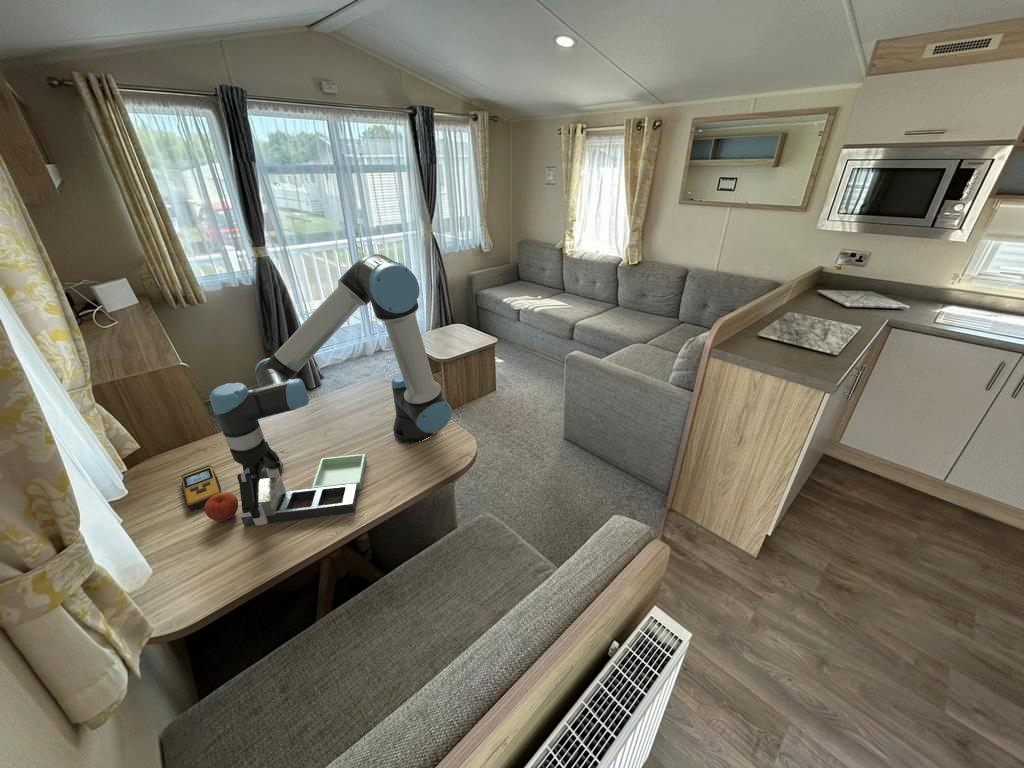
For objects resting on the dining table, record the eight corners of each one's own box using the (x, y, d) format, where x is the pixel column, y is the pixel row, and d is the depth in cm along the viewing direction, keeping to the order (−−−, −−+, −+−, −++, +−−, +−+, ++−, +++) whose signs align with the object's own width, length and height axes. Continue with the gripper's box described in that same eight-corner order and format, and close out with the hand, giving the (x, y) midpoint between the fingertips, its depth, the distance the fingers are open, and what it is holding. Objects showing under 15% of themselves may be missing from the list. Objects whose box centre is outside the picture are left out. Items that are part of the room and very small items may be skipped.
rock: (263, 484, 120) (258, 472, 118) (245, 469, 126) (240, 458, 124) (289, 469, 126) (286, 458, 124) (271, 456, 132) (267, 445, 129)
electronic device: (189, 514, 110) (185, 506, 109) (183, 483, 120) (178, 475, 119) (225, 500, 115) (221, 491, 113) (215, 471, 125) (211, 462, 123)
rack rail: (358, 492, 118) (356, 483, 116) (354, 512, 111) (352, 503, 109) (255, 504, 113) (251, 495, 111) (244, 526, 106) (240, 517, 105)
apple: (231, 503, 113) (222, 482, 109) (248, 512, 111) (239, 491, 107) (204, 521, 108) (193, 499, 104) (221, 531, 105) (211, 509, 101)
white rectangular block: (288, 498, 115) (280, 476, 111) (278, 523, 107) (270, 501, 103) (268, 500, 114) (260, 479, 110) (257, 526, 106) (248, 503, 102)
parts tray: (366, 461, 130) (365, 453, 129) (361, 489, 119) (359, 482, 117) (323, 465, 128) (321, 458, 126) (313, 495, 117) (311, 487, 115)
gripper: (249, 415, 109) (270, 474, 119) (206, 478, 87) (237, 543, 98) (278, 413, 110) (297, 472, 120) (244, 474, 89) (270, 539, 99)
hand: (270, 504), depth 109 cm, fingers open, 13 cm apart
